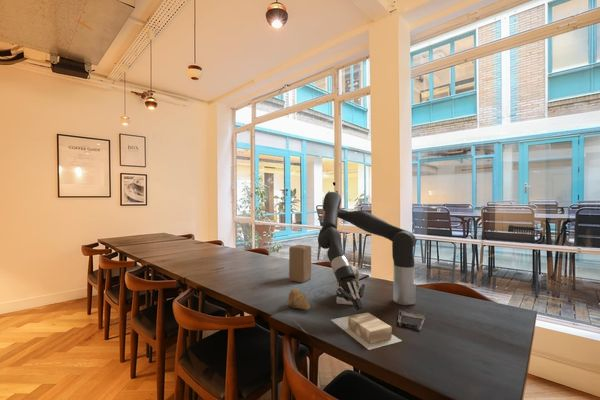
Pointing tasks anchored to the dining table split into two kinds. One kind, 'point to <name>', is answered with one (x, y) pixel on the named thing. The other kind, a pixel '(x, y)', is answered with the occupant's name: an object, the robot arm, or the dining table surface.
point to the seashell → (298, 300)
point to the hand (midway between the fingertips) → (360, 309)
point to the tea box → (339, 299)
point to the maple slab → (370, 327)
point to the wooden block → (300, 263)
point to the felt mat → (344, 325)
